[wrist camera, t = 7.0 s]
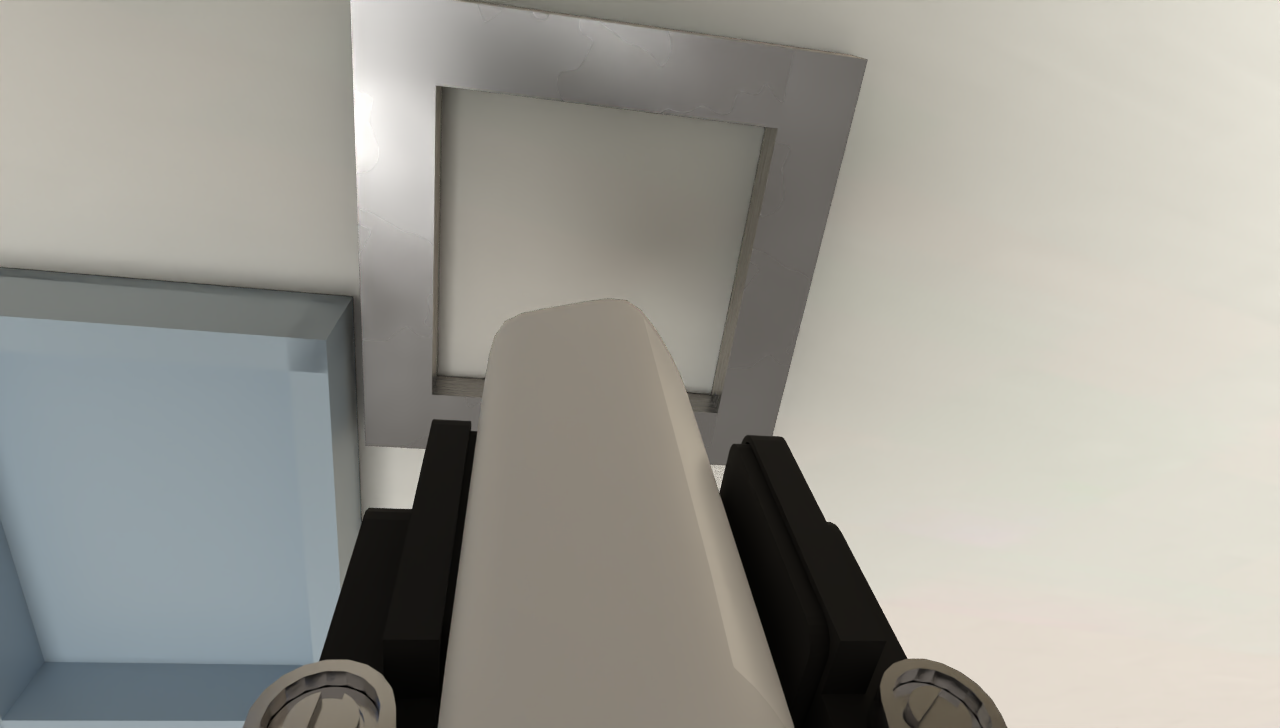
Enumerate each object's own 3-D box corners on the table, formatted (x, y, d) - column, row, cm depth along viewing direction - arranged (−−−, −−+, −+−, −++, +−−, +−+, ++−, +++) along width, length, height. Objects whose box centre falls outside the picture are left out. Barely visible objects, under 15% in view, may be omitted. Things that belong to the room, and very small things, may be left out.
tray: (-102, 258, 21) (-198, 301, 18) (352, 296, 23) (325, 340, 20) (30, 667, 28) (-25, 740, 25) (367, 671, 30) (349, 739, 27)
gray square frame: (361, -16, 19) (349, -15, 18) (851, 55, 21) (867, 59, 20) (373, 425, 25) (365, 445, 24) (755, 447, 27) (764, 467, 26)
